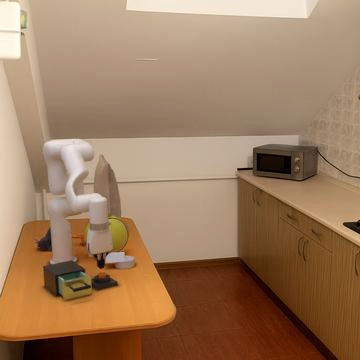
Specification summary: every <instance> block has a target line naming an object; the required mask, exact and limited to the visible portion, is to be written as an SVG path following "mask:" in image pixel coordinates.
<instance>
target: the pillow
mask: <svg viewBox="0 0 360 360" xmlns="http://www.w3.org/2000/svg"><path fill="white" fill-rule="evenodd" d="M93 193H98V194H100V195H101V196H102V197H105V198H106V199H107V201H108V213H110V214H111V215H112V216H115V217H117V218H119V219H120V220H121V221H122V206H121V205H122V203H121V196H120V195H121V194H120V191H119V186H118V182H117V178H116V174H115V171H114V169H113V168H112V167H111V164H110V163H109V162H108V161H107V159H106V158H105V156H104V155H103V154H99V155H98V162H97V164H96V167H95V170H94V177H93Z"/></svg>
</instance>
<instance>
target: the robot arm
mask: <svg viewBox="0 0 360 360" xmlns="http://www.w3.org/2000/svg"><path fill="white" fill-rule="evenodd" d="M42 155H43V159H44V161H45V164H46V168H47V181H48V190H49V193H50V194H51V195H53V196H60V197H55V198H52V199H50V200H49V201H48V202H47V204H46V210H47V214H48V218H49V225H50V226H49V228H50V227H51V240H52V250H51V251H52V258H50V260H49V265H51V264H56V263H61V262H66V261H71V260H72V261H74V262H75V263H77V261H78V258H77V257H76V256H74V246H73V245H74V244H73V238H72V235H73V231H72V224H71V223H70V221H69V220H68V219H67V218H69V217H73V216H79V215H82V214H84V213H88V217H89V224H90V230H88V234H87V243H86V252H88V253H87V256H88V257H89V258H95V259H96V267H97V268H98V269H100V270H102V269H105V266H106V256H107V255H108V254H110V253H112V252H113V250H112V249H113V243H112V235H111V231H110V228H109V225H111V222H109V221H108V207H107V199H106V198H105V197H102V196H101V195H100V194H98V193H94V192H92V193H86V194H85V185H84V180H86V178H88V176H89V169H88V167H87V165H86V162H92V161H93V160H94V158H95V150H94V148H93V146H92V145H91V144H90V143H89V142H87V141H85V140H83V139H81V138H66V139H64V138H63V139H62V138H61V139H54V140H52V139H51V140H48V141H46V142H45V143H44V144H43V145H42ZM63 195H65V196H63ZM100 253H101V256H100Z"/></svg>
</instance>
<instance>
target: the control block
mask: <svg viewBox="0 0 360 360" xmlns="http://www.w3.org/2000/svg"><path fill="white" fill-rule="evenodd" d="M91 284H92V289H95V290H96V291H102V290H105V289H110V288H114V287H118V286H119V281H117V280H115V279H114V278H112V277H111V275H110V274H107V273H106V278H98V274H96V275H94V277H91Z"/></svg>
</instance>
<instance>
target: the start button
mask: <svg viewBox="0 0 360 360" xmlns="http://www.w3.org/2000/svg"><path fill="white" fill-rule="evenodd" d="M106 274H107V273H106V272H104V271H103V272H98V273H97V275H98V278H106Z"/></svg>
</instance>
